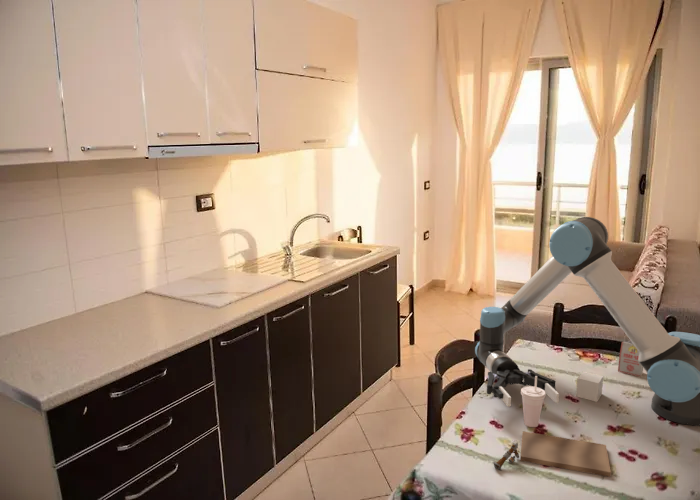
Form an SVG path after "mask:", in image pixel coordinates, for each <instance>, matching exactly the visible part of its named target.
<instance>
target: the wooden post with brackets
mask: <svg viewBox="0 0 700 500" xmlns="http://www.w3.org/2000/svg"><path fill="white" fill-rule="evenodd" d="M518 446H519V443H513V444H512V445H511V446H510V448H509V449H508V450H506V452H505V453H504V454H503V455H502V457H501V458H500V459H499V460H497V461H496V462H495V461H494V462H493V463H492V464H493V466H494V468H495V469H498V470H499V471H502V466H503V465H504V463H505V462H506V461H507V462H508V464H513V463H514V462H516V458H517V459H519V458H520V454H519V452H518V448H519V447H518ZM512 454H514V455H512Z"/></svg>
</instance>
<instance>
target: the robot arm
mask: <svg viewBox="0 0 700 500" xmlns="http://www.w3.org/2000/svg"><path fill="white" fill-rule="evenodd" d="M608 240H609V232H608V229H607V227H606V226H605V224H604V223H603V222H602V221H601V220H599V219H597V218H595V217H591V216H584V217H579V218H576V219H573V220H569V221H566V222H564V223H563V224H562V223H561V225H559V226H558V227H557V228H555V230H554V231H552V233H551V236H550V238H549V245H548V246H549V252H550V253H551V257H550V258H549V259H547V261H546V262H545V263H543V265H542V266H541V267H540V268H539V269H538V270H537V271H536V272H535V273H534V275H532V276H531V277H530V278H529V279H528V280H527V281H526V282H525V283H524V285H522V286H521V287H520V288H519V289H518V290H517V292H516V293H515V294H514V295H513V296H512V297H511V298H510V299H509V300H508V301H506V303H505V304H504V305H502V307H499V306H485V307H484V308H482V309H481V310H480V311H481V312H480V319H479V322H480V323H479V341H478V342H477V343H476V346H475V347H474V353H475V355H476V357H477V359H478V360H479V362H480V363H482V365H483V366H484V368H485V367H486V369H487V370H488V372H487V382H486V383H487V384H486V394H487V395H491V394H493V397H494V398H498V399H499V400H502V402H504V404H505V405H506V406H507V407H511V405H512V397H511V395H510V394H509V393H508V391H506V390H505V388H506V387H507V386H508V385H514V384H515V385H521V386H523V387H526V386H534V387H535V376H537V387H538V388H541V389H543V390H544V391H545V395H547V396H548V397H549V399H551V400H552V401H553V402H554V403H555V404H559V401H560V393H559V392H558V391H557V389H556V380H554V379H552V378H550V377H547V376H545V375H543V374H540V373H538V372H536V371H533V370H532V369H530V368H528V369H527V371H526V372H524V371H523V370H520V367H519V366H518V364H517V363H516V362H515V361H514V360H513V359H512V358H511V357H510V356H509V355H508V354H507V353H506V352H505V351H504V344H505V343H504V340H505V333H507V332H508V331H510V330H511V329H513V328H515V327H516V326H518V325H519V326H520V324H521V323H522V322H524V321H525V319H526V317H527V316H528V315H529V314H530V313H531V312H532V311H533V310H535V308H536V307H537V306H538V305H539V304H540V303H541V302H543V300H545V298H546V297H548V296H549V295H550V294H551V293H552V292H553V291H554V290H555V289H556V288H557V287H558V286H559V285H560V284H561V283H562V282H563V281H565V279H566V278H567V277H569V275H571V274H573V275H574V276H575V277H579V278H583V280H585V282H586V283H587V284H588V286H589V287H590V288H591V290H592V291H593V293H594V294H595V295H596V297H597V298H598V299H599V300H600V302H601V303H602V304H603V306H604V307H605V308H606V310H607V311H608V312H609V314H610V316H611V317H612V318H613V319H614V321H615V322H616V323H617V324H618V326H619V327H620V329H621V330H622V331H623V332H624V334H625V335H626V337H627V338H628V339H629V340H630V342H631V343H632V344H634V346H635V347H636V348H637V350H638V351H639V357H638V361H639V362H640V364H641V365H642V366H643V370H644V371H645V372H646V373H647V374H646V379H647V383H648V386H649V388H650V389H651V391H652V392H653V393H654V394H653V395H652V397H651V405H650V406H651V409H652V411H653V412H655V413H656V414H657V415H658V416H660V417H662V418H664V419H666V420H669V421H671V422H674V423H678V424H682V425H687V426H700V334H697V333H690V332H683V331H671V332H668V331H667V330H666V329H665V327H664V326H663V325H662V324H661V322H660V321H659V320H658V318H657V317H656V316H655V315H654V313H653V311H651V310H650V308H649V307H648V306H647V304H646V303H645V301H644V300H643V299H642V298H641V297H640V295H639V294H638V293H637V292H636V290H635V289H634V287H632V285H631V284H630V282H629V281H628V280H627V279H626V278H625V275H623V274H622V272H621V271H620V270H619V268H618V267H617V266H616V264H615V262H613V261H612V254H613V251H612V250H611V248H610V247H609V246H608ZM496 380H497V382H496V383H495V384H494V382H495V381H496Z"/></svg>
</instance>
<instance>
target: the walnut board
mask: <svg viewBox="0 0 700 500" xmlns="http://www.w3.org/2000/svg"><path fill="white" fill-rule="evenodd" d="M519 458H520V459H519V461H521V462H526V463H532V464H537V465H542V466H548V467H553V468H559V469H566V470H570V471H575V472H583V473H585V474H586V473H587V474H592V475H599V476H603V477H609V478H611V475H612V473H611V467H610V466H611V465H610V460H609V455H608V449H607V444H602V443H597V442H590V441H586V440H585V441H584V440H578V439H573V438H566V437H561V436H553V435H548V434H541V433H537V432H529V431H522V434H521V444H520V454H519Z"/></svg>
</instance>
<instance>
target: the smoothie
mask: <svg viewBox="0 0 700 500" xmlns="http://www.w3.org/2000/svg"><path fill="white" fill-rule="evenodd" d="M520 395H521V401H522V409H523V410H522V411H523V413H522V414H523V423H524V425H525V426H526V427H530V428H537V427H538V426H539V423H540V420H541V419H540V418H541V413H542V409H543V404H544V400H545V399H546V395H547V394H546V393H545V390H543V389H541V388H538V387H537V376H535V387H534V386H529V385H526V386H523V387H522V388H521V389H520Z"/></svg>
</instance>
